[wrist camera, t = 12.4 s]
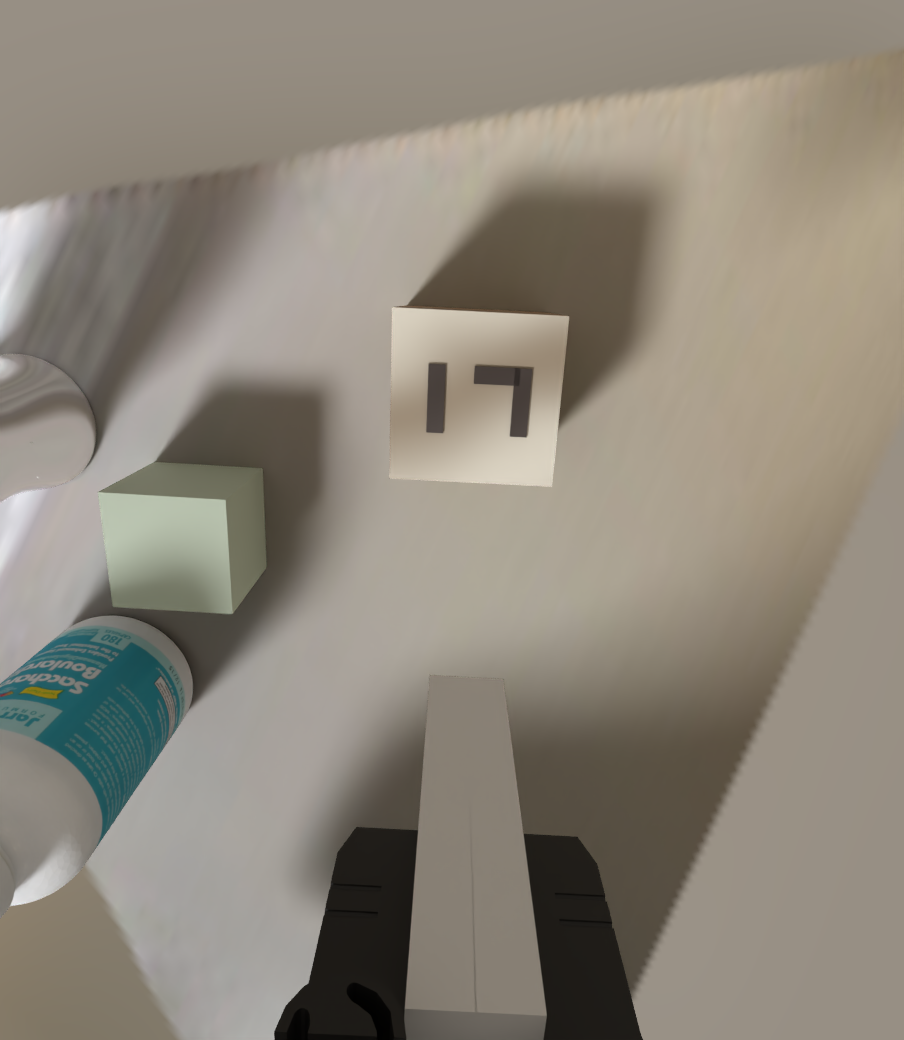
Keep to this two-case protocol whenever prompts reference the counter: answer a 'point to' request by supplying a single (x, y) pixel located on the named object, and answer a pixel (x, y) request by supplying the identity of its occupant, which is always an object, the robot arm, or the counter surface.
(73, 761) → the pill bottle
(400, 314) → the walnut block
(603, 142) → the counter surface
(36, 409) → the beer glass
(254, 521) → the sage block
